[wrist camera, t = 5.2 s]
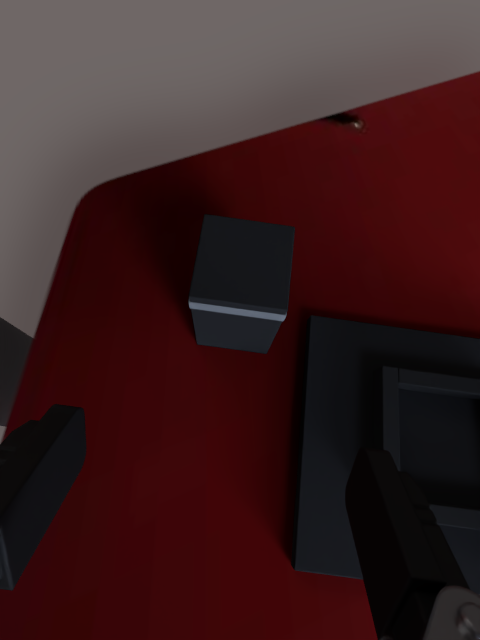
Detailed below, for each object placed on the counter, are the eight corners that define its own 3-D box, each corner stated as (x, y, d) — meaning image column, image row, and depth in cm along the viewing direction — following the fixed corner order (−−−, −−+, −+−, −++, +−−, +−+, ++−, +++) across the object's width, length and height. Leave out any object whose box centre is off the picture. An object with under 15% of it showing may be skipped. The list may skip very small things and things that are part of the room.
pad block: (195, 345, 25) (187, 297, 18) (207, 280, 27) (203, 212, 19) (267, 354, 25) (288, 311, 18) (274, 290, 27) (296, 225, 19)
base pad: (290, 565, 21) (299, 579, 19) (307, 319, 26) (316, 306, 24) (584, 604, 21) (630, 622, 19) (542, 352, 26) (574, 342, 24)
